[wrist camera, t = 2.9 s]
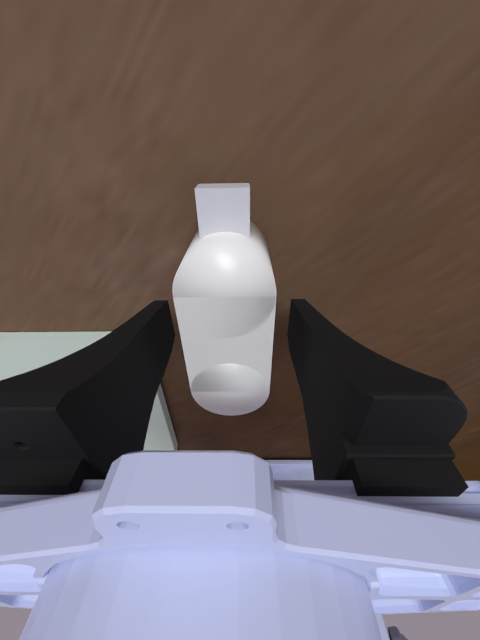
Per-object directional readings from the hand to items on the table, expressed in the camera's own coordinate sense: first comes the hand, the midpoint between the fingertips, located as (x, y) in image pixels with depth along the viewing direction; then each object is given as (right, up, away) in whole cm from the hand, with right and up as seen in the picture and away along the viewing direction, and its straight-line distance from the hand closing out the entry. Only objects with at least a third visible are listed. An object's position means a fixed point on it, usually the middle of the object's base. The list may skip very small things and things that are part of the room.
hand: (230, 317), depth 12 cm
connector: (0, +1, +1) cm, 2 cm away
